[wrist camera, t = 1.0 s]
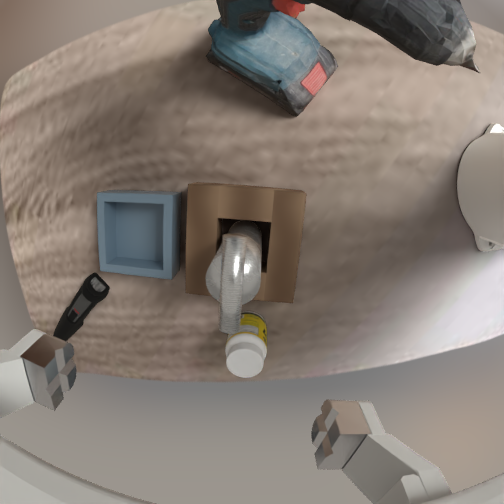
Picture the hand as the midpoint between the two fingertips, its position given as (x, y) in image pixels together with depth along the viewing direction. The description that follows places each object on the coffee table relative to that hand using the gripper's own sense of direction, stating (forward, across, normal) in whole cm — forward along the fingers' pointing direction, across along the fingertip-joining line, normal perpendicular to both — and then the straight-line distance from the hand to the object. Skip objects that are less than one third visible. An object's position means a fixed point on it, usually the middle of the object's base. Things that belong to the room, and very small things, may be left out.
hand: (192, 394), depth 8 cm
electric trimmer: (+29, +21, +17) cm, 40 cm away
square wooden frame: (+28, -1, +1) cm, 28 cm away
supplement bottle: (+28, -4, +12) cm, 31 cm away
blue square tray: (+28, +11, +3) cm, 30 cm away
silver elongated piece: (+28, -1, +1) cm, 28 cm away
